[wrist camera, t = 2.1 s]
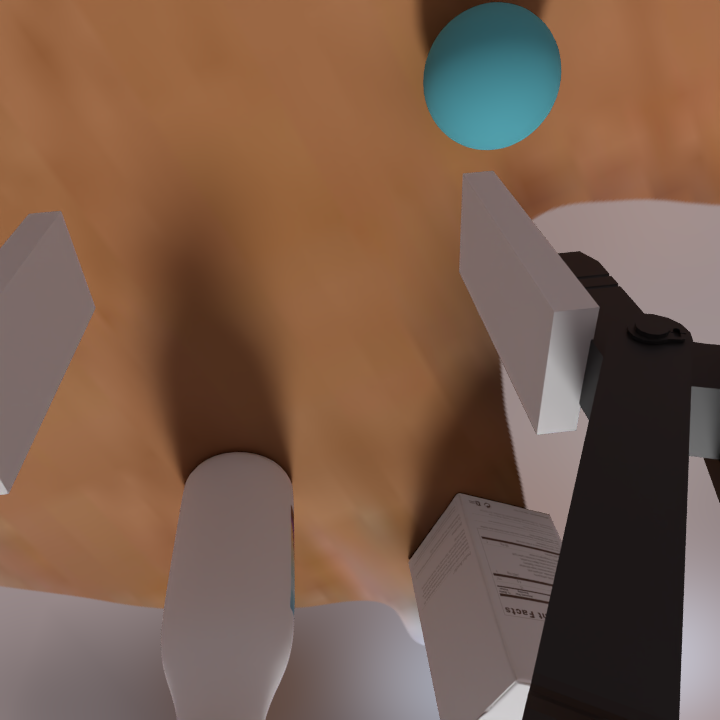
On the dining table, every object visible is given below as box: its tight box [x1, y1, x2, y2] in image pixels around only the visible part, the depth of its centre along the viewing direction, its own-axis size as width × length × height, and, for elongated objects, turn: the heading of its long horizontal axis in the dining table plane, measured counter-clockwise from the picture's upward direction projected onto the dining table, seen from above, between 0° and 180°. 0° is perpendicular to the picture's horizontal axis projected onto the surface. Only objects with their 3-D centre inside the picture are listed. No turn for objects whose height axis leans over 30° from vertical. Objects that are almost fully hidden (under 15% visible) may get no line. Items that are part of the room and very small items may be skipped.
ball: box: [423, 2, 561, 150], centre depth 28 cm, size 6×6×6 cm
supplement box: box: [409, 493, 562, 720], centre depth 46 cm, size 9×9×15 cm
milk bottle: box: [161, 452, 295, 720], centre depth 38 cm, size 8×8×20 cm
